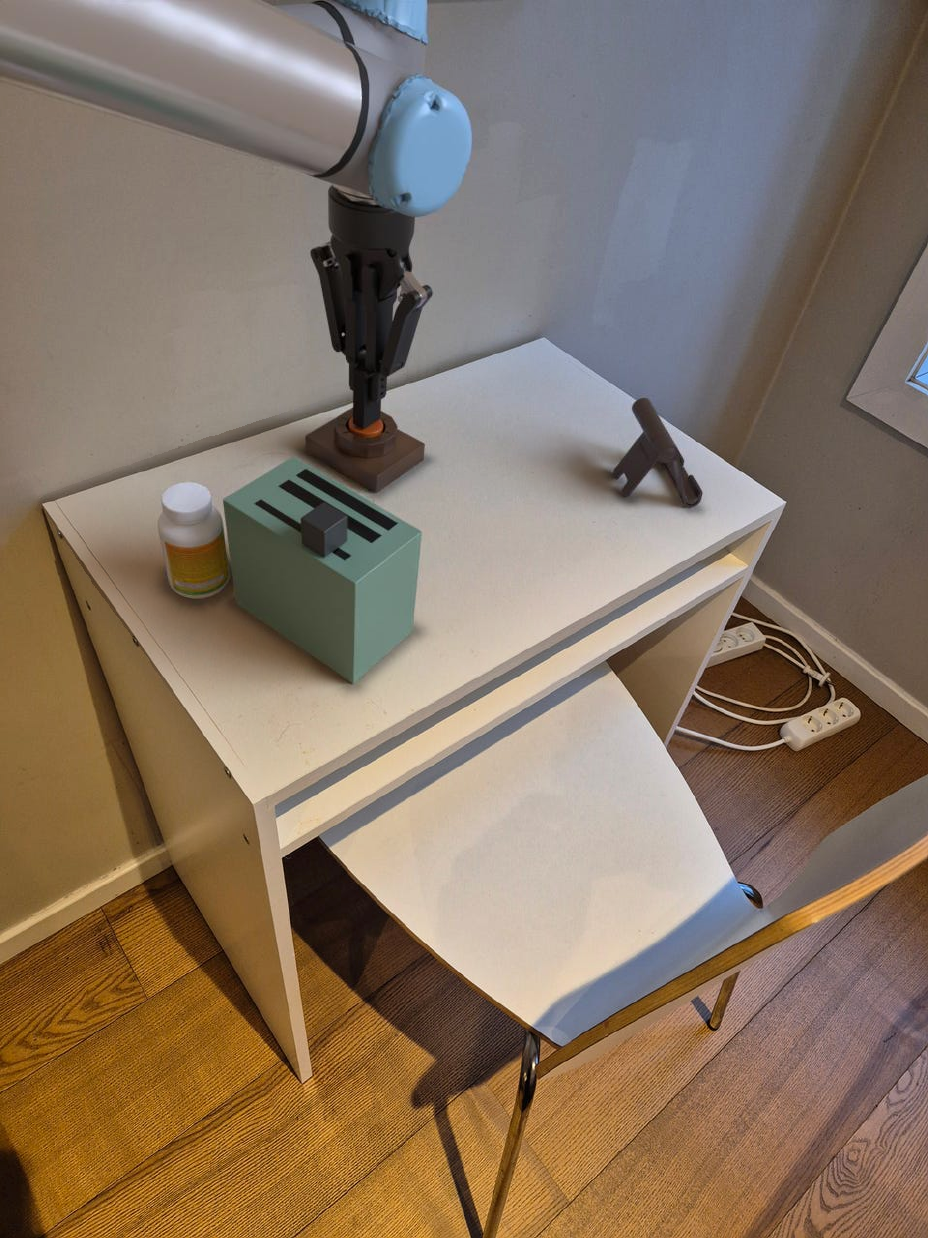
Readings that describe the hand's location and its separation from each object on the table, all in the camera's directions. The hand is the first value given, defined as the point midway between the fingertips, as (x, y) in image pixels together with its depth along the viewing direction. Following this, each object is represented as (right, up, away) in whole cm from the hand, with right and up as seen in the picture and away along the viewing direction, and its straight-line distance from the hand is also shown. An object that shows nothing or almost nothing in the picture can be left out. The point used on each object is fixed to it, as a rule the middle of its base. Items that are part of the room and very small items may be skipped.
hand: (366, 420), depth 90 cm
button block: (-1, -3, +3) cm, 5 cm away
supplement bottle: (-14, -17, -12) cm, 25 cm away
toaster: (-2, -21, -13) cm, 25 cm away
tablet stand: (+31, -6, +6) cm, 32 cm away
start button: (0, -1, +1) cm, 2 cm away
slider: (0, -15, -24) cm, 29 cm away
